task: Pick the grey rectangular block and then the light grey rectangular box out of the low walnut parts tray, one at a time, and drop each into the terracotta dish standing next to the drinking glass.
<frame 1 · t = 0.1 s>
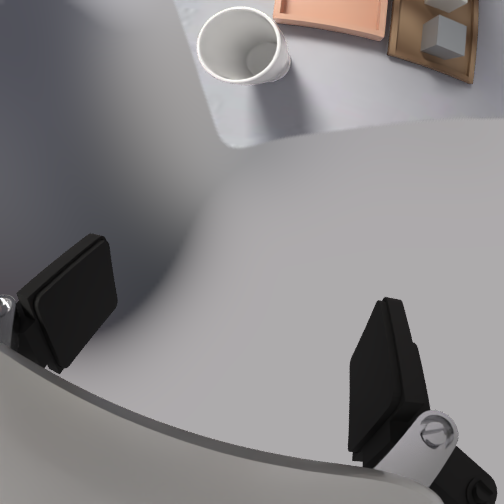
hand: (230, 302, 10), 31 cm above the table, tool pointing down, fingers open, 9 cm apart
tray: (435, 19, 24), on the table
grey rectangular block: (434, 42, 26), resting on tray
drinking glass: (269, 62, 33), on the table
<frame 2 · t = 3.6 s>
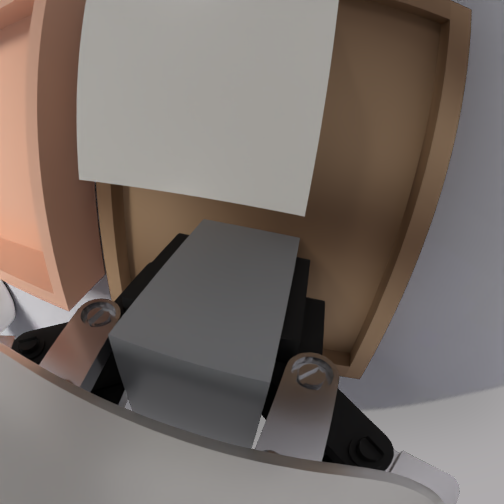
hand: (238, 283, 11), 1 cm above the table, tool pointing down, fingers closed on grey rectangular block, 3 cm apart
tray: (256, 178, 10), on the table
grey rectangular block: (245, 273, 12), resting on tray, touching gripper
dish: (9, 136, 11), on the table
light grey rectangular box: (267, 74, 8), resting on tray
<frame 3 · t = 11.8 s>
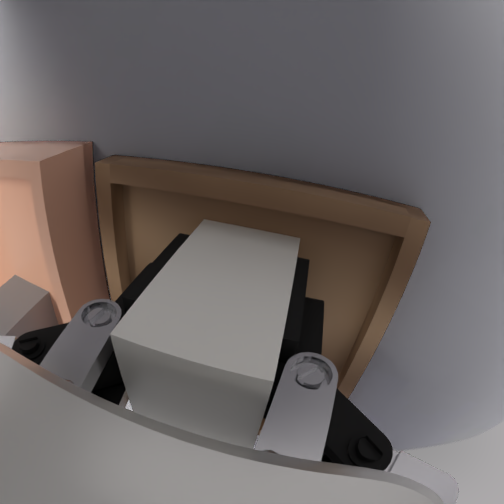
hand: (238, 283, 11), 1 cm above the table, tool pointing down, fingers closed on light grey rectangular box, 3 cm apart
tray: (237, 331, 14), on the table
grey rectangular block: (38, 306, 16), point 1 cm above the table, touching dish
dish: (28, 253, 15), on the table
light grey rectangular box: (245, 274, 12), resting on tray, touching gripper
when the fingers open (3 cm above the table, at t = 15.6 s): light grey rectangular box drops 2 cm, resting on dish.
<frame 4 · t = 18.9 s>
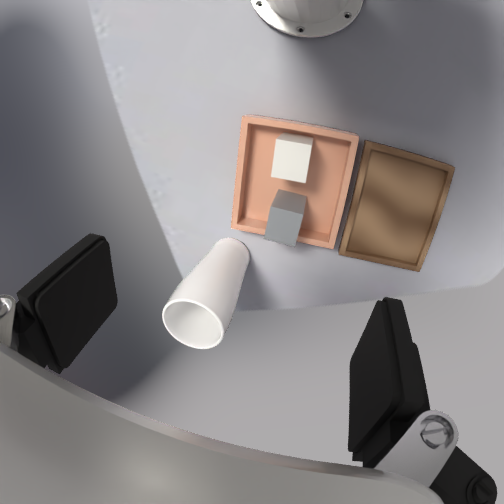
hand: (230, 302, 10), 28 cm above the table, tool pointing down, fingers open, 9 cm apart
tray: (395, 208, 35), on the table
grey rectangular block: (289, 206, 37), point 1 cm above the table, touching dish
dish: (293, 177, 36), on the table
drinking glass: (231, 252, 43), on the table
light grey rectangular box: (296, 150, 34), point 1 cm above the table, touching dish
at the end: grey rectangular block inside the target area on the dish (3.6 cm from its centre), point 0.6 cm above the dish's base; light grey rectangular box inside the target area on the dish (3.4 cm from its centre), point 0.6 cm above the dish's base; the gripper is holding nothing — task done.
